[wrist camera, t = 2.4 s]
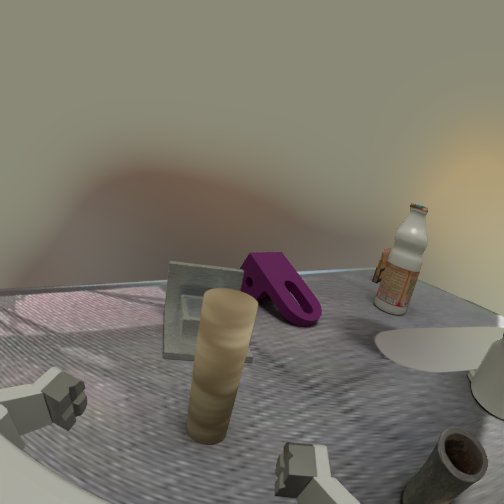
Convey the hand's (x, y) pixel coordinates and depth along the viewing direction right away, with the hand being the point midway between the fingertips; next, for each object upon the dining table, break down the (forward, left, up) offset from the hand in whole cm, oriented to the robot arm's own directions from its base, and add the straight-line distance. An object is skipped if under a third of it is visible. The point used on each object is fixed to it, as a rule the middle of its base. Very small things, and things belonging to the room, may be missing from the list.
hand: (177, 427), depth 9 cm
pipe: (-21, +6, -15) cm, 27 cm away
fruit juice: (-56, -44, -15) cm, 73 cm away
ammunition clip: (-72, -68, -15) cm, 100 cm away
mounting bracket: (-23, -42, -15) cm, 51 cm away
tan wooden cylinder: (-4, -12, -15) cm, 19 cm away
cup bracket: (-6, -30, -15) cm, 34 cm away
